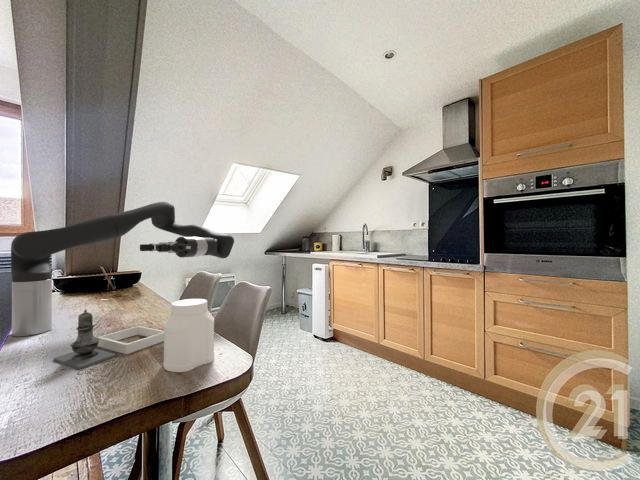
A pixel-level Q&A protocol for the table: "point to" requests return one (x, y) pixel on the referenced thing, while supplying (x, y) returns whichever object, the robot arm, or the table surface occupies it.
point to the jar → (188, 336)
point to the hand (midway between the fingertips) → (148, 248)
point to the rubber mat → (84, 363)
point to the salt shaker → (85, 338)
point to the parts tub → (113, 344)
